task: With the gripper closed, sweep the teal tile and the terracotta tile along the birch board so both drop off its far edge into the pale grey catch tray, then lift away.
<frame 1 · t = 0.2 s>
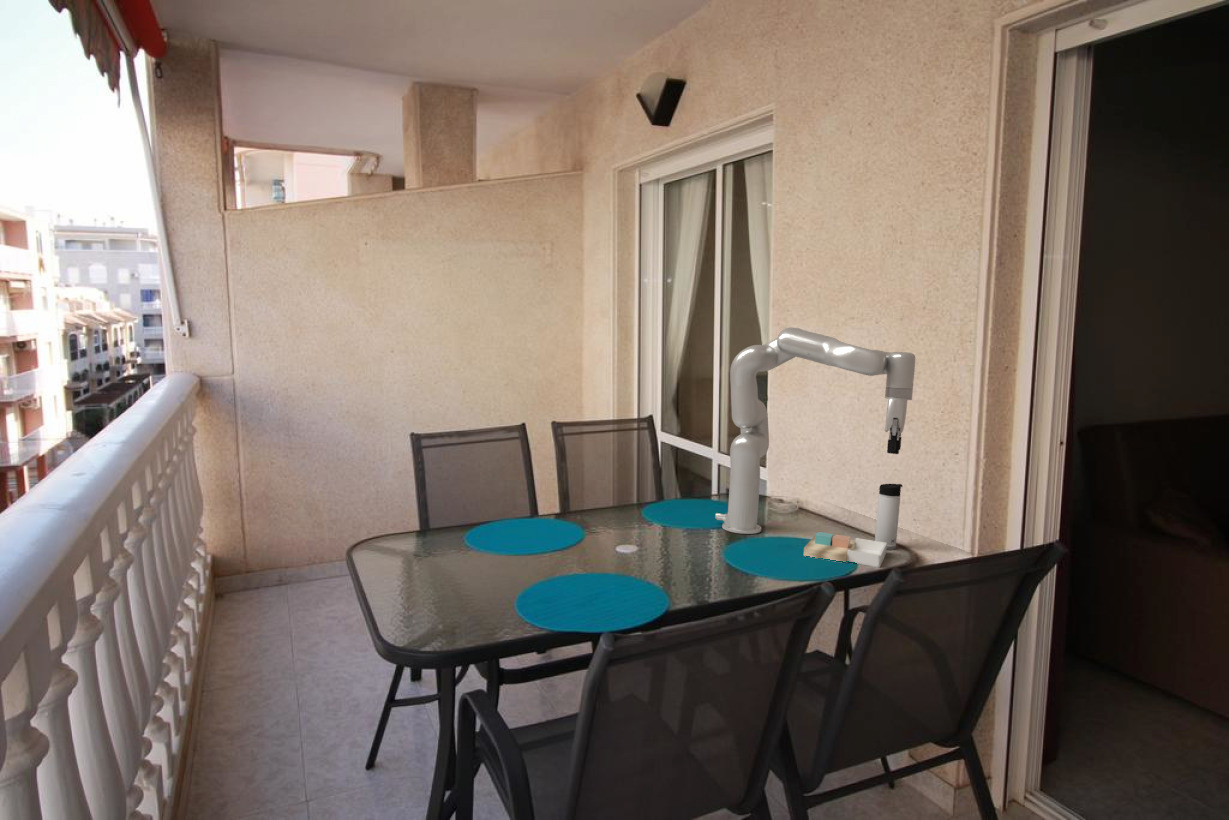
hand: (893, 451, 228), 31 cm above the table, tool pointing down, fingers open, 9 cm apart
tile teal: (823, 542, 229), point 2 cm above the table, touching board
catch tray: (866, 558, 224), on the table
travel mug: (885, 548, 237), on the table
tile terracotta: (841, 545, 227), point 2 cm above the table, touching board
board: (830, 552, 229), on the table
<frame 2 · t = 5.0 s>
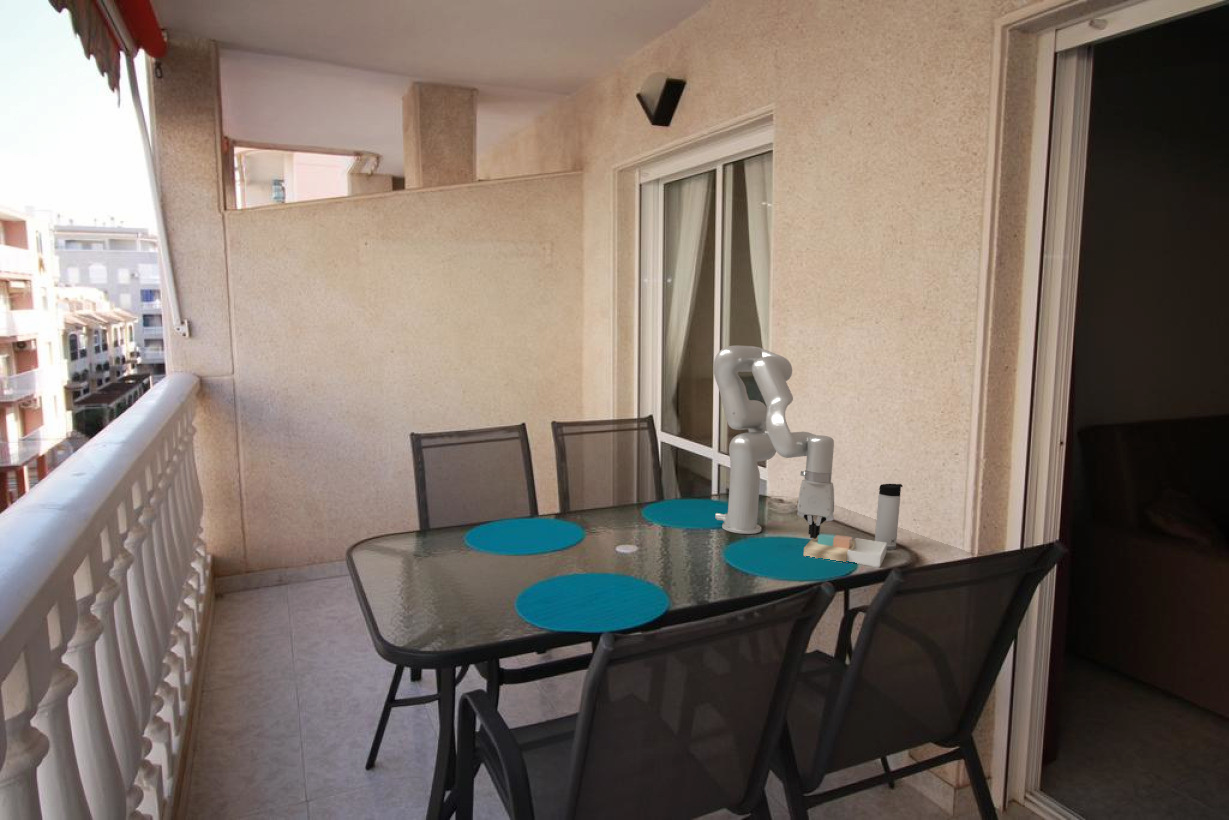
hand: (813, 537, 230), 4 cm above the table, tool pointing down, fingers closed
tile teal: (826, 543, 229), point 3 cm above the table, touching board, gripper, tile terracotta
tile terracotta: (842, 545, 227), point 3 cm above the table, touching tile teal
everything else where it was.
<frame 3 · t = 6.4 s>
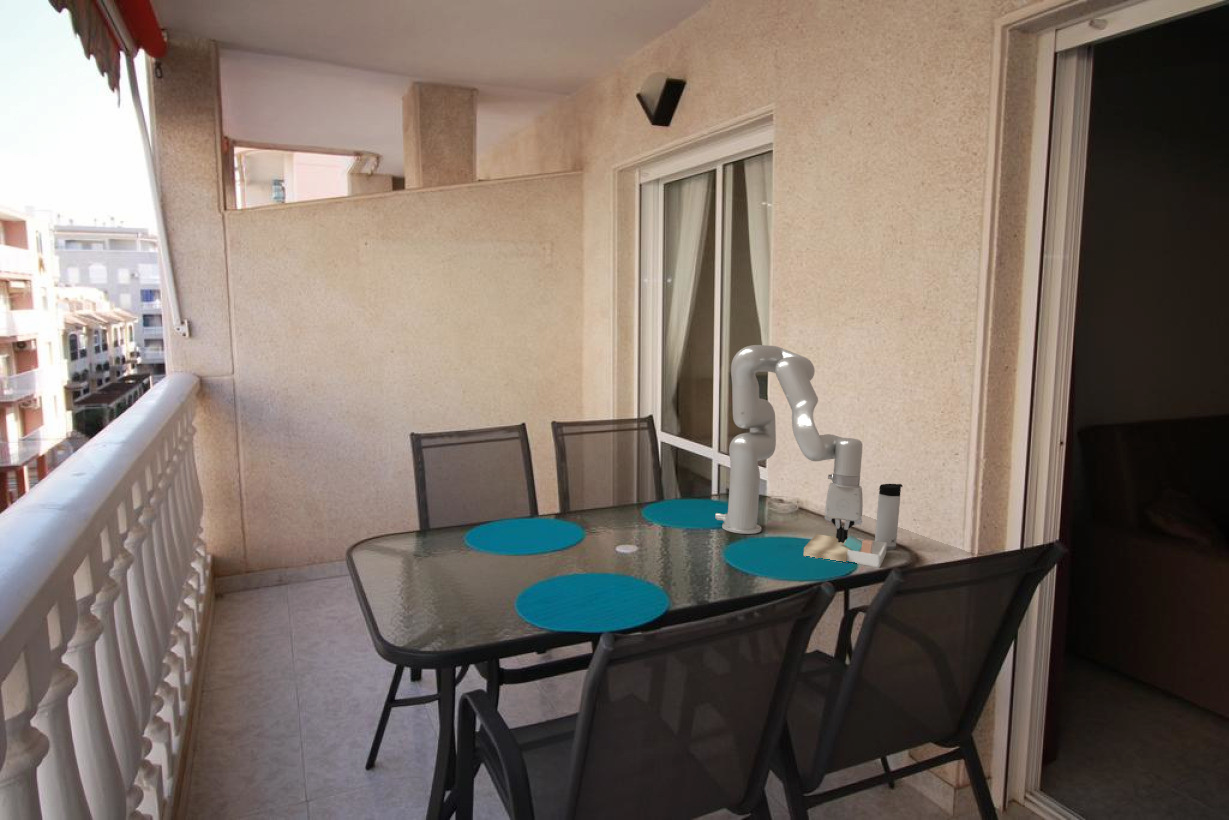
hand: (841, 541, 227), 4 cm above the table, tool pointing down, fingers closed
tile teal: (851, 547, 226), point 3 cm above the table, tilted 26°, touching gripper, tile terracotta
tile terracotta: (862, 548, 224), point 3 cm above the table, tilted 91°, touching catch tray, tile teal
everything else where it was.
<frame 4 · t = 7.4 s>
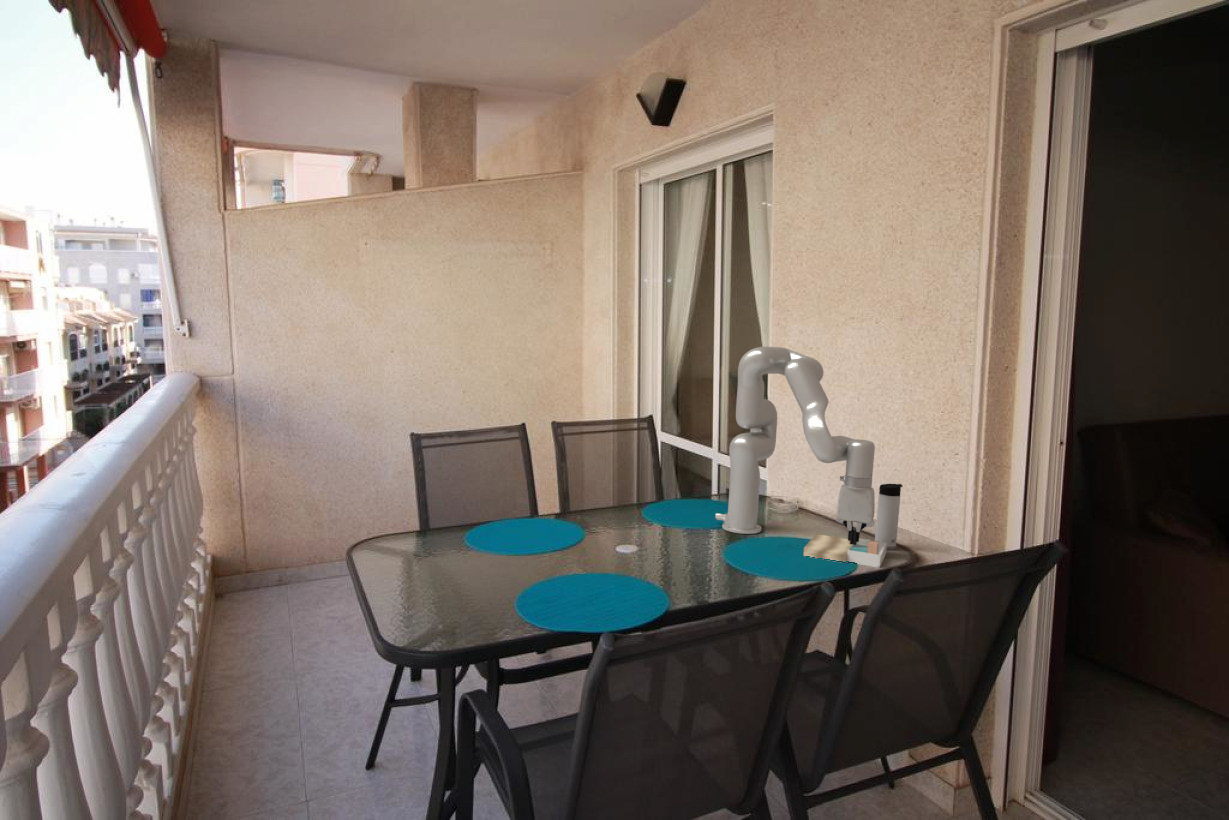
hand: (853, 543, 225), 4 cm above the table, tool pointing down, fingers closed
tile teal: (859, 555, 225), resting on catch tray
tile terracotta: (868, 549, 224), point 3 cm above the table, tilted 90°, touching catch tray
everything else where it was.
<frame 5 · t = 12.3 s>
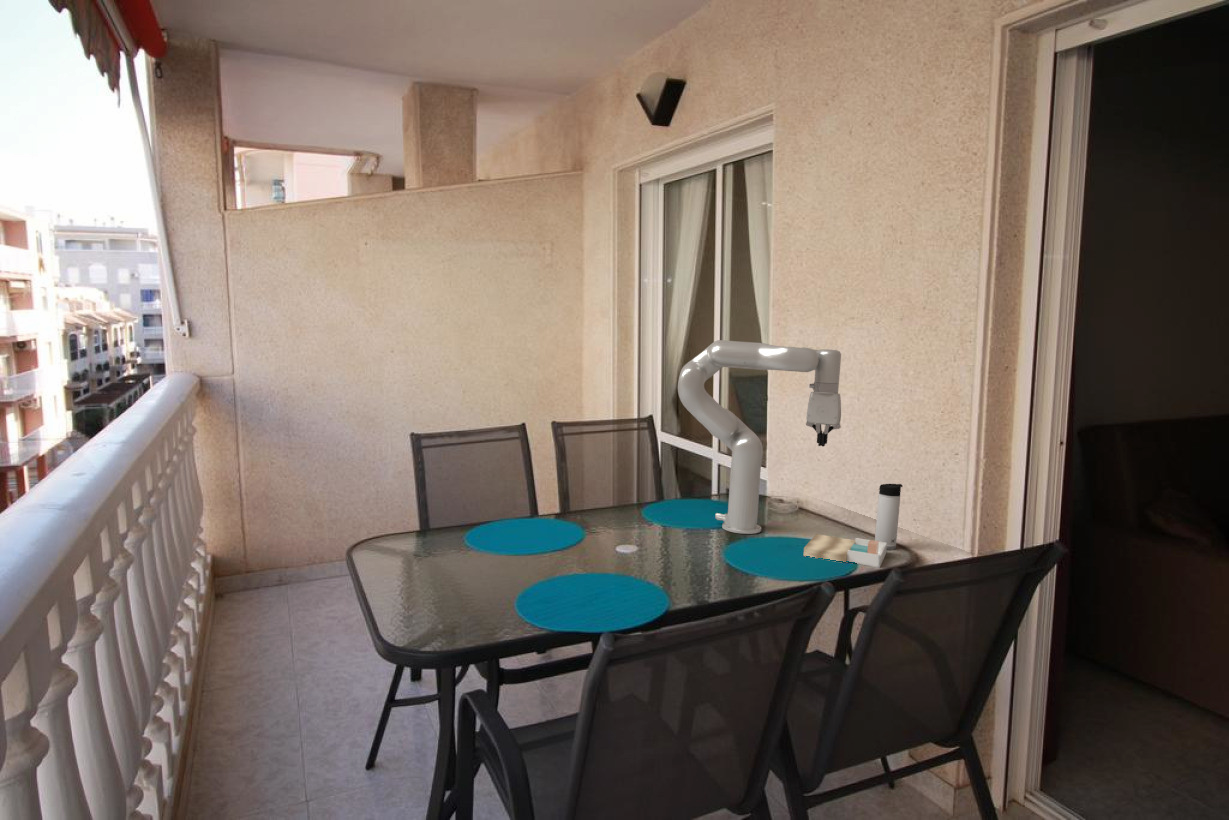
hand: (821, 445, 245), 29 cm above the table, tool pointing down, fingers closed
nothing on the table moved.
at the end: tile teal inside the target area (2.4 cm from its centre), point 0.5 cm above the table; tile terracotta inside the target area (0.0 cm from its centre), point 2.7 cm above the table; tile teal touching catch tray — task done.
